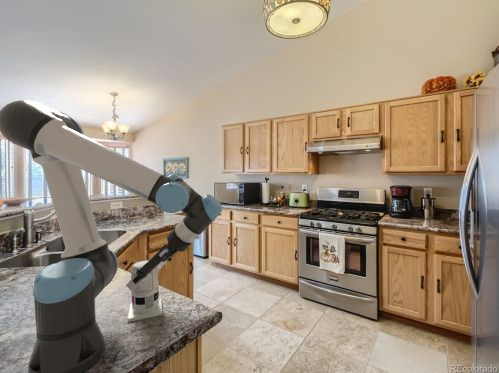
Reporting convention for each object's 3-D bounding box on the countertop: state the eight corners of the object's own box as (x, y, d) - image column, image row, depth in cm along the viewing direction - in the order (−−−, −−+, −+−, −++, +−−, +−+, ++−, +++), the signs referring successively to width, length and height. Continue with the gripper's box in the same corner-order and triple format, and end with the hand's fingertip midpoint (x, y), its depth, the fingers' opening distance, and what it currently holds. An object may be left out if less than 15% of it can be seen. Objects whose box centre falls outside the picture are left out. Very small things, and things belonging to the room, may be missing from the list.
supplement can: (126, 310, 81) (125, 265, 81) (147, 299, 89) (146, 257, 88) (143, 317, 78) (142, 269, 77) (164, 304, 85) (162, 261, 84)
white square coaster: (162, 314, 81) (162, 311, 80) (127, 321, 77) (127, 318, 77) (161, 300, 90) (161, 297, 90) (130, 306, 86) (130, 303, 86)
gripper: (174, 256, 68) (125, 306, 71) (204, 234, 92) (167, 272, 95) (155, 236, 68) (108, 287, 71) (190, 219, 93) (154, 258, 96)
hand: (142, 278), depth 83 cm, fingers open, 13 cm apart
